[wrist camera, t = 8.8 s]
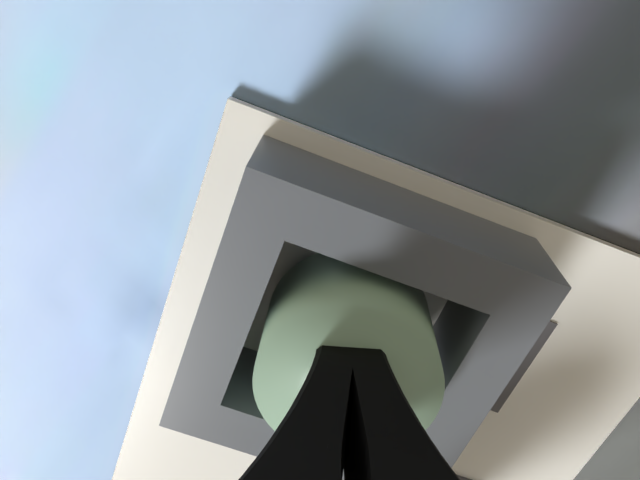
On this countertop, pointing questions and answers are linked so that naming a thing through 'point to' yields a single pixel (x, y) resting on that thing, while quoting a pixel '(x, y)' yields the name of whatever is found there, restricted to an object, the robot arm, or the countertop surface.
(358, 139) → the countertop surface
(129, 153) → the countertop surface
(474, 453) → the board
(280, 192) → the button housing
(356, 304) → the button
